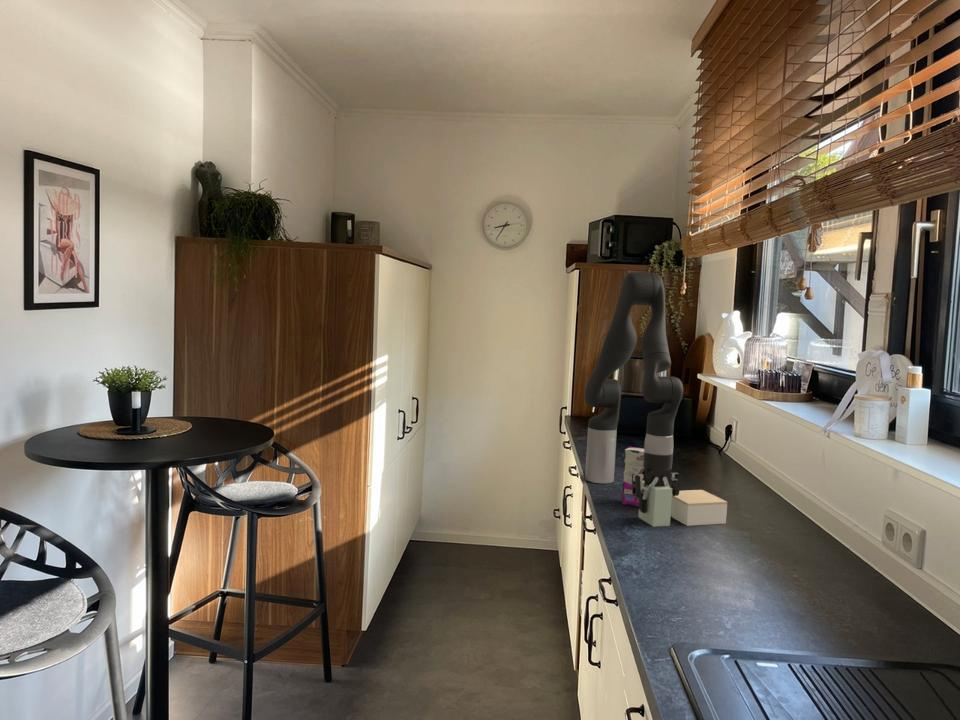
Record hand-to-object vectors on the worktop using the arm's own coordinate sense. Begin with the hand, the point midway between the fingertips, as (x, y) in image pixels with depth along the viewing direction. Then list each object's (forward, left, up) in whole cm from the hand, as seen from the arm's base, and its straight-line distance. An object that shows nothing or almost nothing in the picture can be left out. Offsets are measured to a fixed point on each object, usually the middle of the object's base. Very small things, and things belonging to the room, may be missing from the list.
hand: (654, 511), depth 198 cm
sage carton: (0, 0, -3) cm, 3 cm away
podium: (-1, +13, -3) cm, 13 cm away
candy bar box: (-14, +4, -3) cm, 15 cm away
